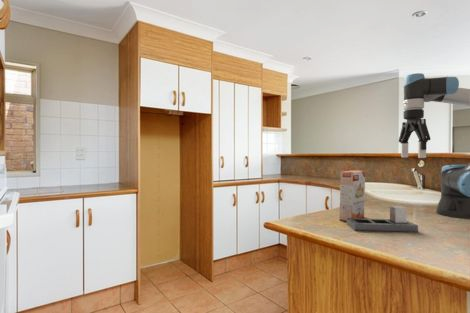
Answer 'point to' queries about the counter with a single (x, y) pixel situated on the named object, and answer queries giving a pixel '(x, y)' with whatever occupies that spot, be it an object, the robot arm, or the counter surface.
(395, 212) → the block
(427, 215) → the counter surface
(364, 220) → the grey compartment tray
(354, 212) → the cracker box
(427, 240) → the counter surface
